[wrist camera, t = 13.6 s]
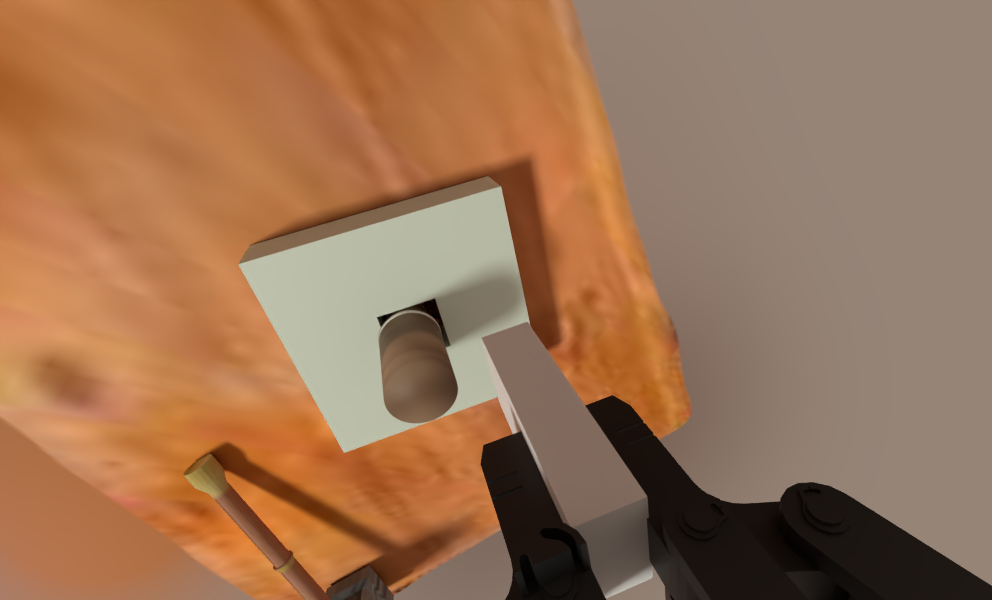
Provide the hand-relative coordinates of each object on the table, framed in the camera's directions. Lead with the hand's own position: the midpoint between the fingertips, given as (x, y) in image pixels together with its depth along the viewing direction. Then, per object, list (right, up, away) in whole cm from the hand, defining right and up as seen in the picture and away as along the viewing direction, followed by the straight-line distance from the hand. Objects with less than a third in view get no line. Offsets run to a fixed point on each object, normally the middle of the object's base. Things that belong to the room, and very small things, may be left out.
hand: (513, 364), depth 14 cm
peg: (-9, +1, +28) cm, 29 cm away
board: (-8, +1, +28) cm, 29 cm away
